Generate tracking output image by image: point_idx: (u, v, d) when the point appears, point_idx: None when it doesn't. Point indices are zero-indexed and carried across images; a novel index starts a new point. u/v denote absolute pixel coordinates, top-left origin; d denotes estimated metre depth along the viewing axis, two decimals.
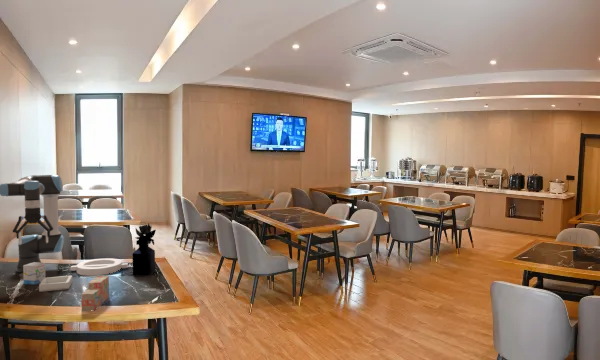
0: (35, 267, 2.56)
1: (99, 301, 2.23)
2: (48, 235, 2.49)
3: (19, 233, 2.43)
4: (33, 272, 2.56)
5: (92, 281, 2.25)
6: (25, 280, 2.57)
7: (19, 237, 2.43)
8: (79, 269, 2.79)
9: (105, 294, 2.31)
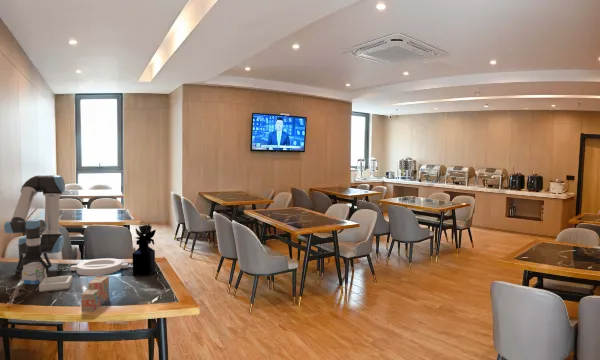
0: (35, 267, 2.56)
1: (99, 301, 2.22)
2: (47, 272, 2.63)
3: (22, 270, 2.57)
4: (33, 272, 2.56)
5: (92, 281, 2.25)
6: (25, 280, 2.57)
7: (22, 274, 2.57)
8: (79, 269, 2.79)
9: (105, 294, 2.31)
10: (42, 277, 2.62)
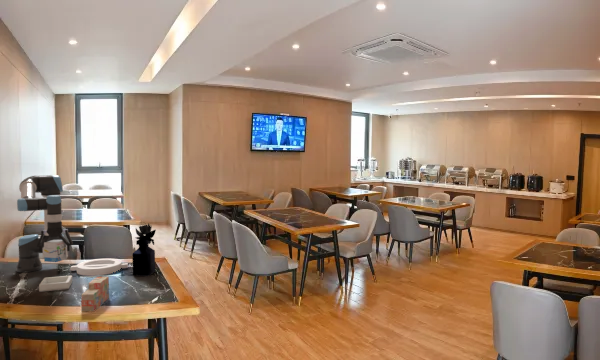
0: (56, 244, 2.48)
1: (99, 302, 2.22)
2: (68, 249, 2.54)
3: (43, 248, 2.49)
4: (54, 249, 2.47)
5: (92, 281, 2.25)
6: (46, 257, 2.49)
7: (43, 251, 2.49)
8: (79, 269, 2.79)
9: (105, 294, 2.30)
10: (63, 255, 2.53)
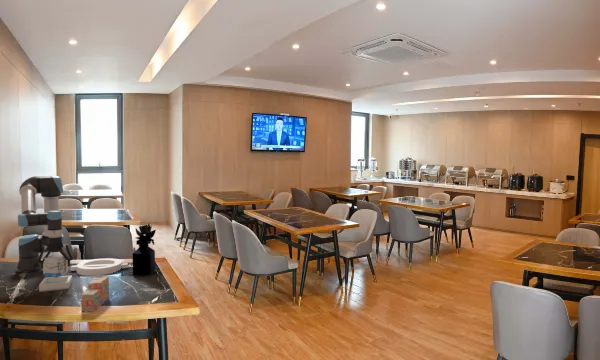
0: (57, 259, 2.48)
1: (99, 302, 2.22)
2: (68, 265, 2.55)
3: (44, 263, 2.49)
4: (55, 265, 2.48)
5: (92, 282, 2.24)
6: (46, 273, 2.49)
7: (44, 267, 2.49)
8: (79, 269, 2.79)
9: (105, 295, 2.30)
10: (64, 270, 2.54)
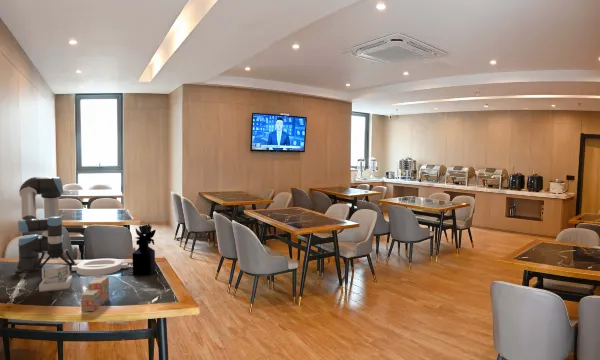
0: (57, 269, 2.49)
1: (99, 302, 2.21)
2: (70, 269, 2.55)
3: (42, 268, 2.49)
4: (55, 275, 2.48)
5: (92, 282, 2.24)
6: (47, 283, 2.50)
7: (42, 272, 2.49)
8: (79, 269, 2.79)
9: (105, 295, 2.30)
10: (64, 280, 2.54)
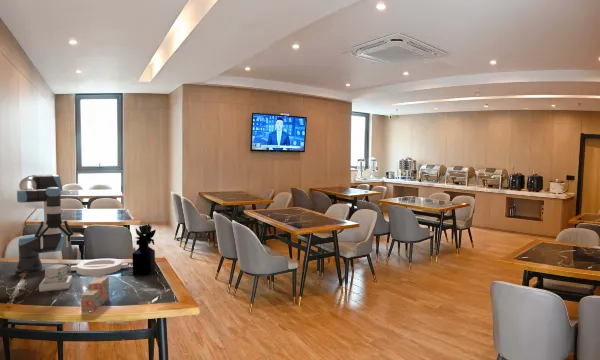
0: (57, 269, 2.49)
1: (99, 302, 2.21)
2: (68, 240, 2.58)
3: (41, 238, 2.52)
4: (55, 275, 2.48)
5: (92, 282, 2.24)
6: (47, 283, 2.50)
7: (41, 242, 2.52)
8: (79, 269, 2.79)
9: (105, 295, 2.30)
10: (64, 280, 2.54)
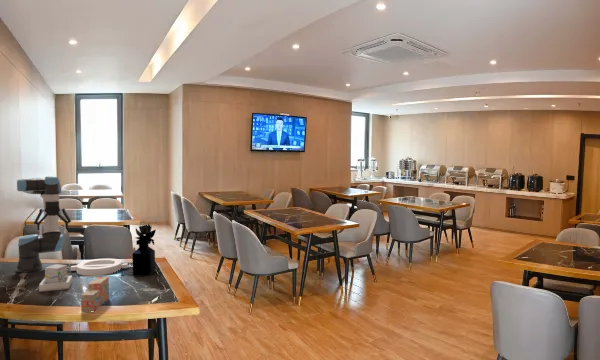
0: (57, 269, 2.49)
1: (99, 302, 2.21)
2: (66, 227, 2.68)
3: (40, 225, 2.63)
4: (55, 275, 2.48)
5: (92, 282, 2.24)
6: (47, 283, 2.50)
7: (40, 228, 2.63)
8: (79, 269, 2.79)
9: (105, 295, 2.30)
10: (64, 280, 2.54)
